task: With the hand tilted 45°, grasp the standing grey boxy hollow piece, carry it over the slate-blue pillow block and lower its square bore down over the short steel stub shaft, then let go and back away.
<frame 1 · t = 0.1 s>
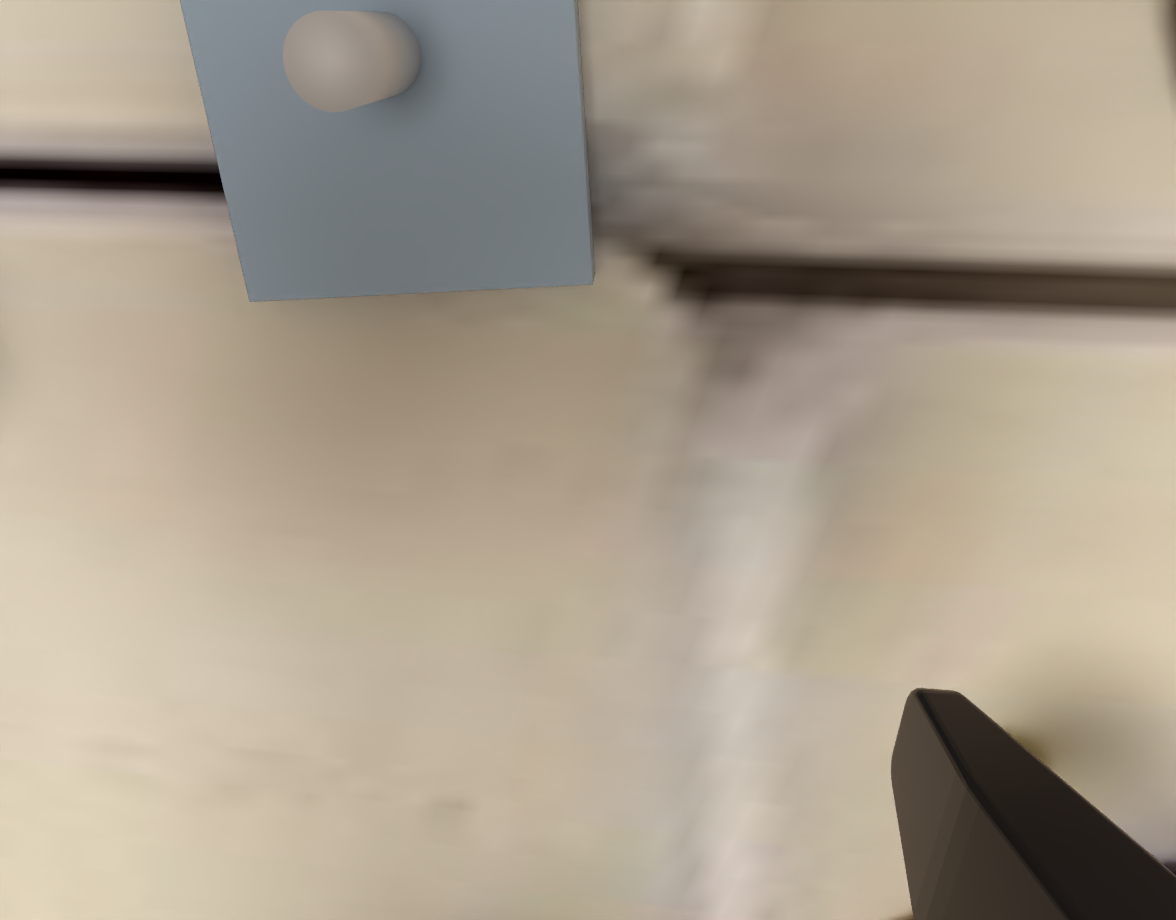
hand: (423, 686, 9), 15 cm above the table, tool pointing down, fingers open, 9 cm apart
shaft stand: (394, 53, 20), on the table
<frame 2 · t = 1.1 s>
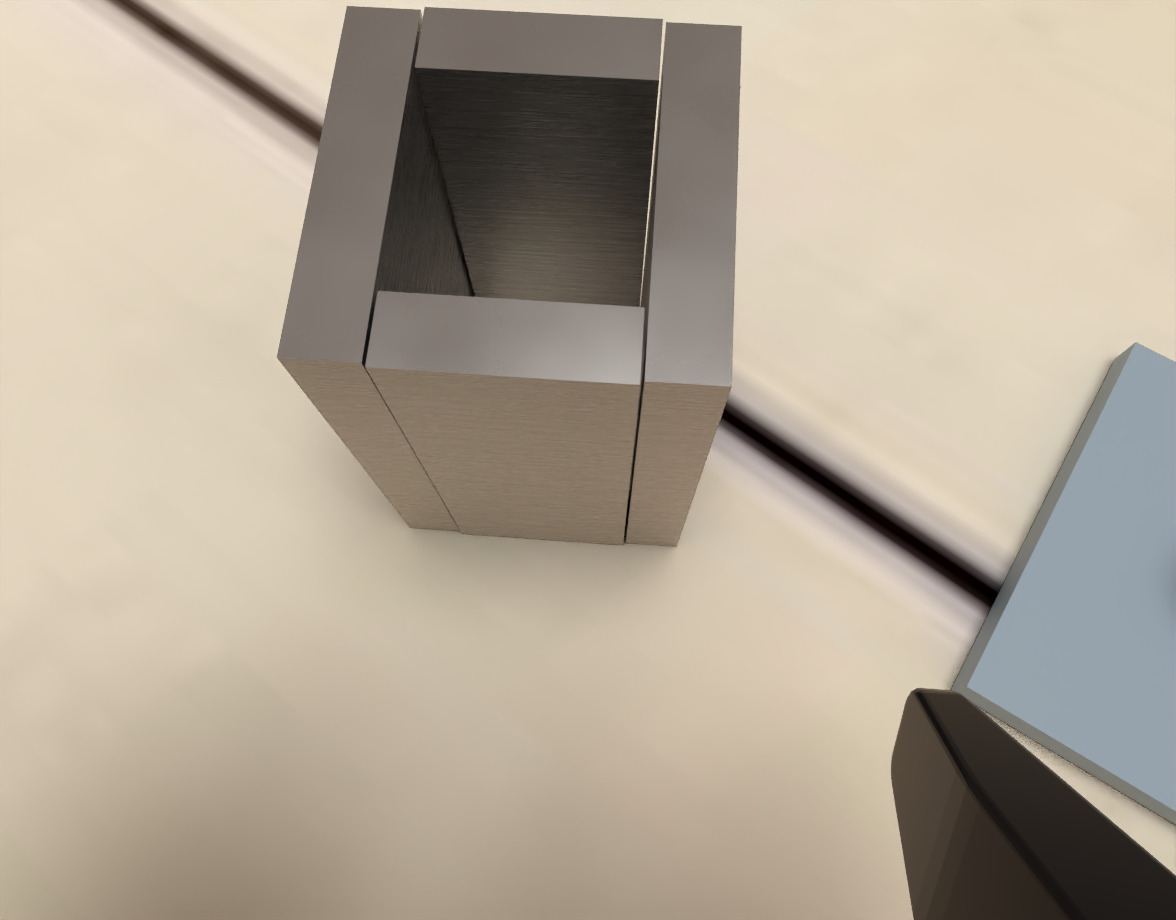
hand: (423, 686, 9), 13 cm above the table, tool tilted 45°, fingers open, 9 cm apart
grey boxy hollow piece: (554, 414, 24), on the table
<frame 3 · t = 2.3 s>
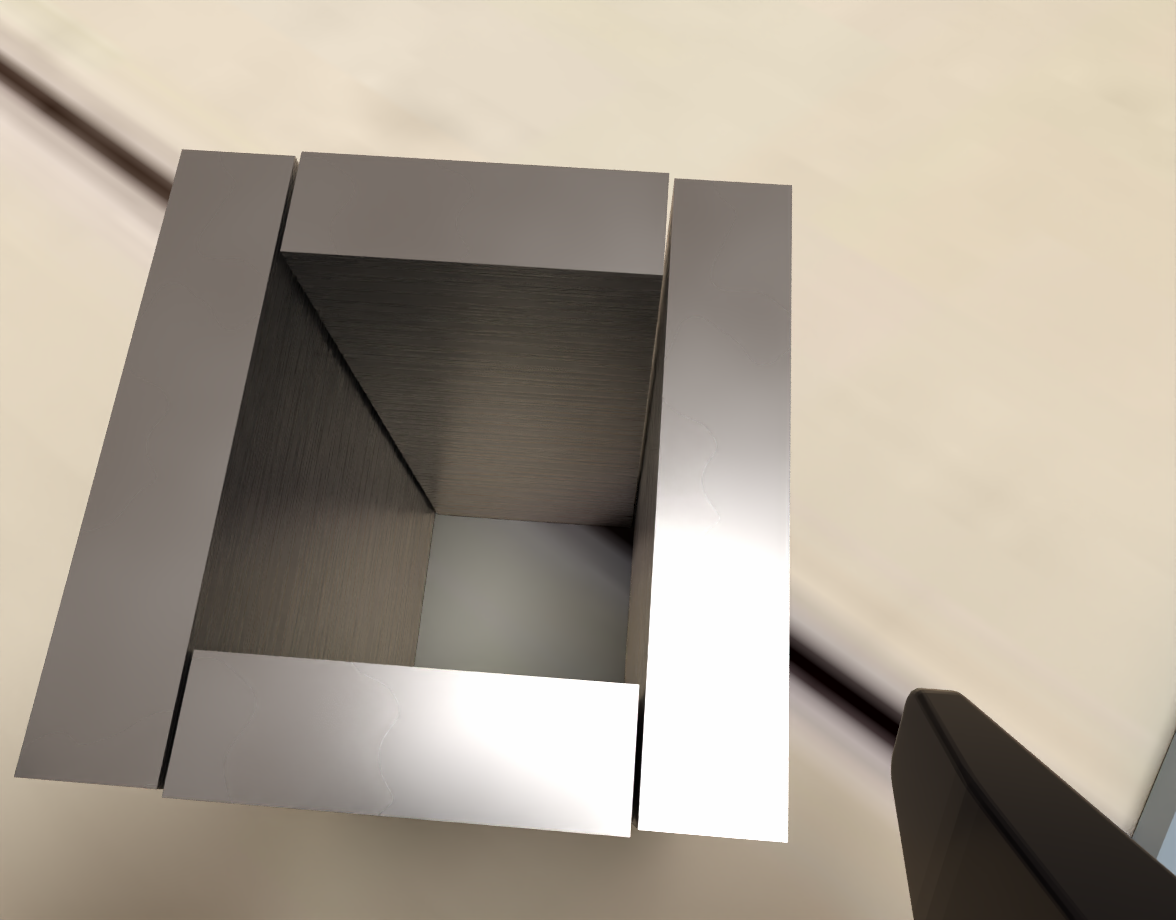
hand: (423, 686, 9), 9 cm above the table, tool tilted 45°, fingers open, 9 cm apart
grey boxy hollow piece: (523, 621, 18), on the table
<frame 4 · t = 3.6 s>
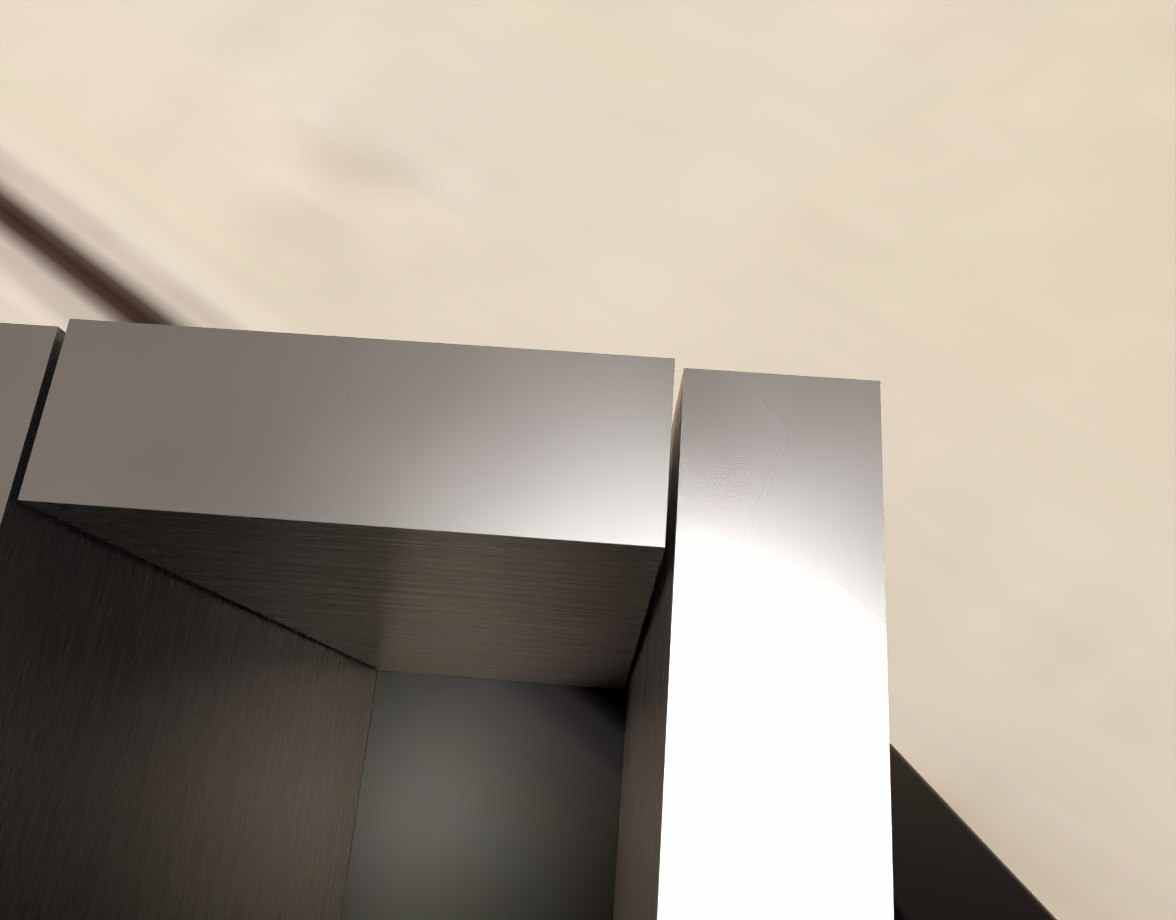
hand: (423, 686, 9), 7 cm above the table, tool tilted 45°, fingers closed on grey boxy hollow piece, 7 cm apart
grey boxy hollow piece: (487, 814, 14), on the table, touching gripper
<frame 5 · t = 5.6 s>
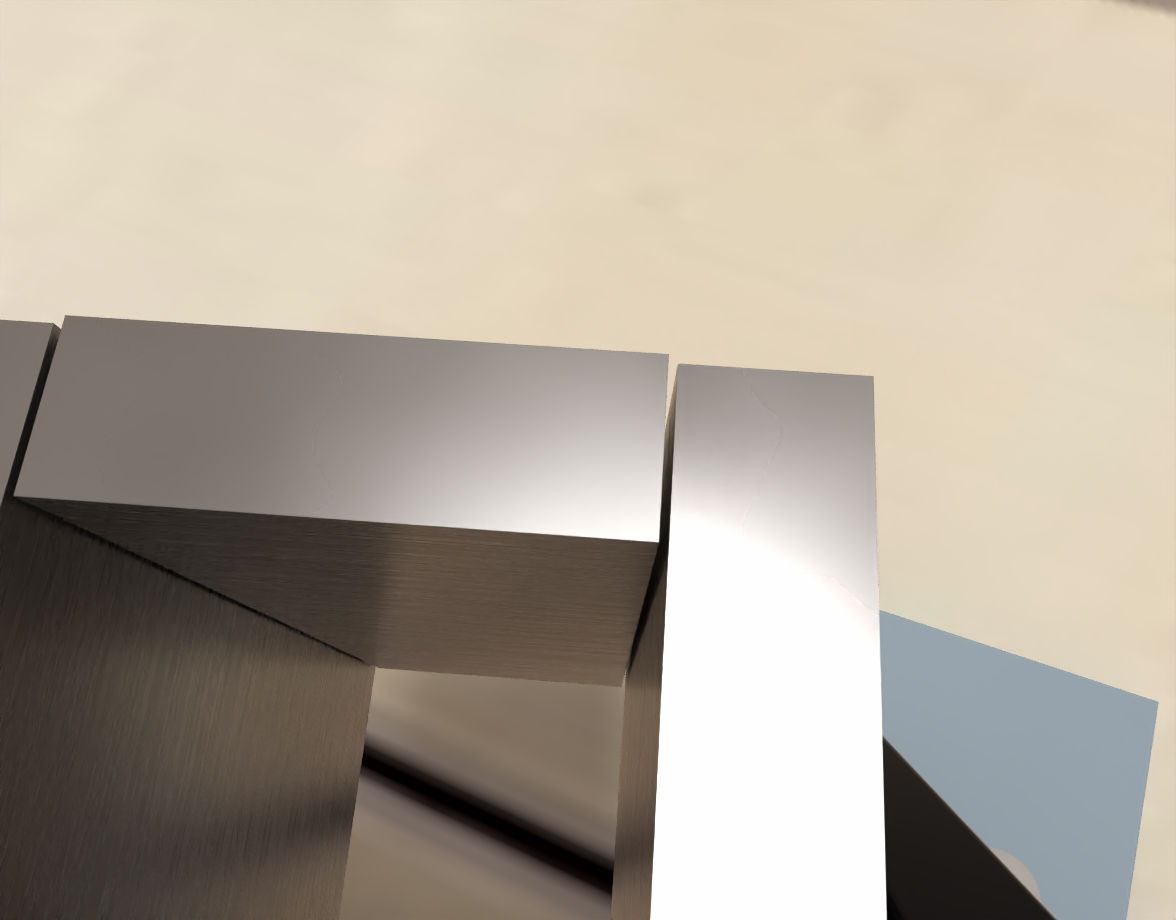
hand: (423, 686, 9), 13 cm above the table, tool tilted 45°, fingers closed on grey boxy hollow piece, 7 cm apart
shaft stand: (908, 869, 20), on the table
grey boxy hollow piece: (485, 811, 14), point 6 cm above the table, touching gripper
when the fingers open (8 cm above the table, at t = 7.8 s): grey boxy hollow piece stays where it is, resting on shaft stand.
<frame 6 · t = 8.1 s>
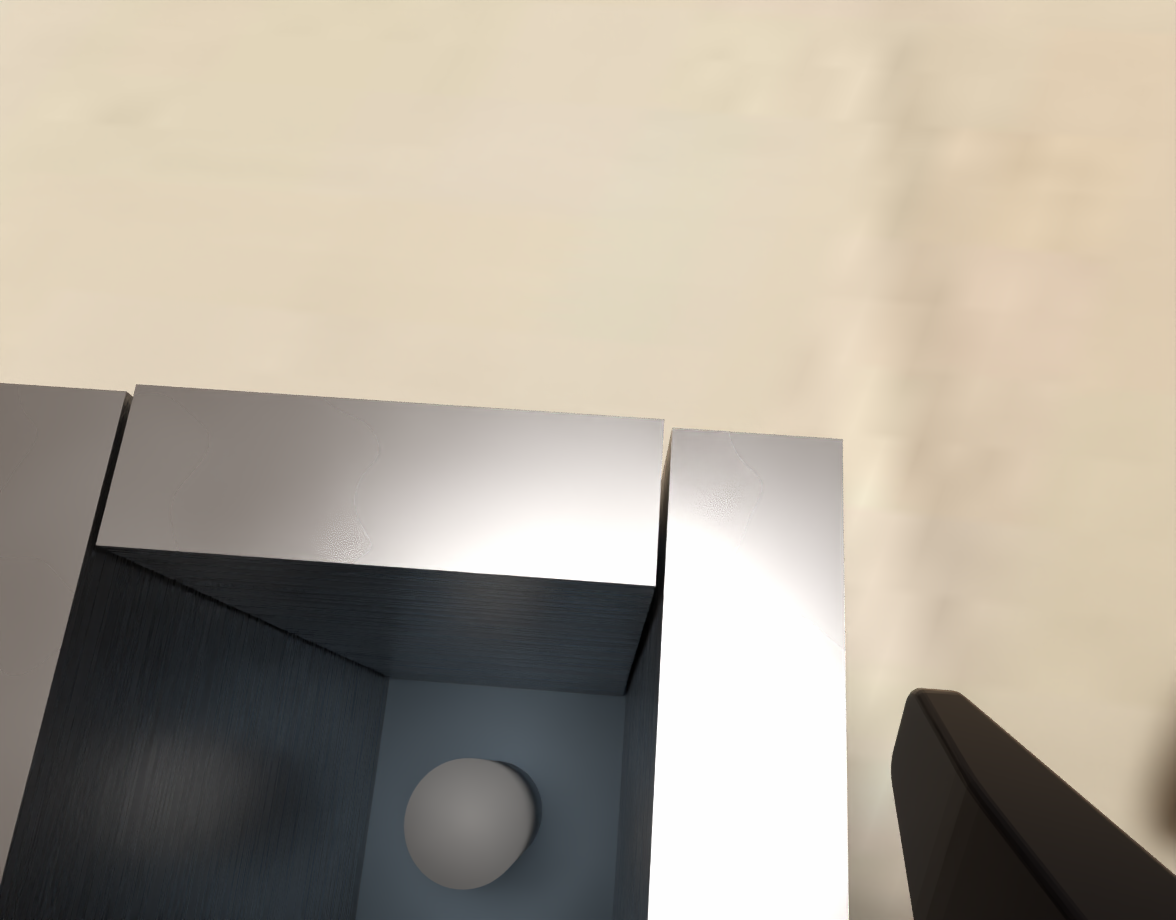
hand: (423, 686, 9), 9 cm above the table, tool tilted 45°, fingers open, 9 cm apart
shaft stand: (500, 809, 16), on the table
grey boxy hollow piece: (494, 814, 15), point 1 cm above the table, touching shaft stand
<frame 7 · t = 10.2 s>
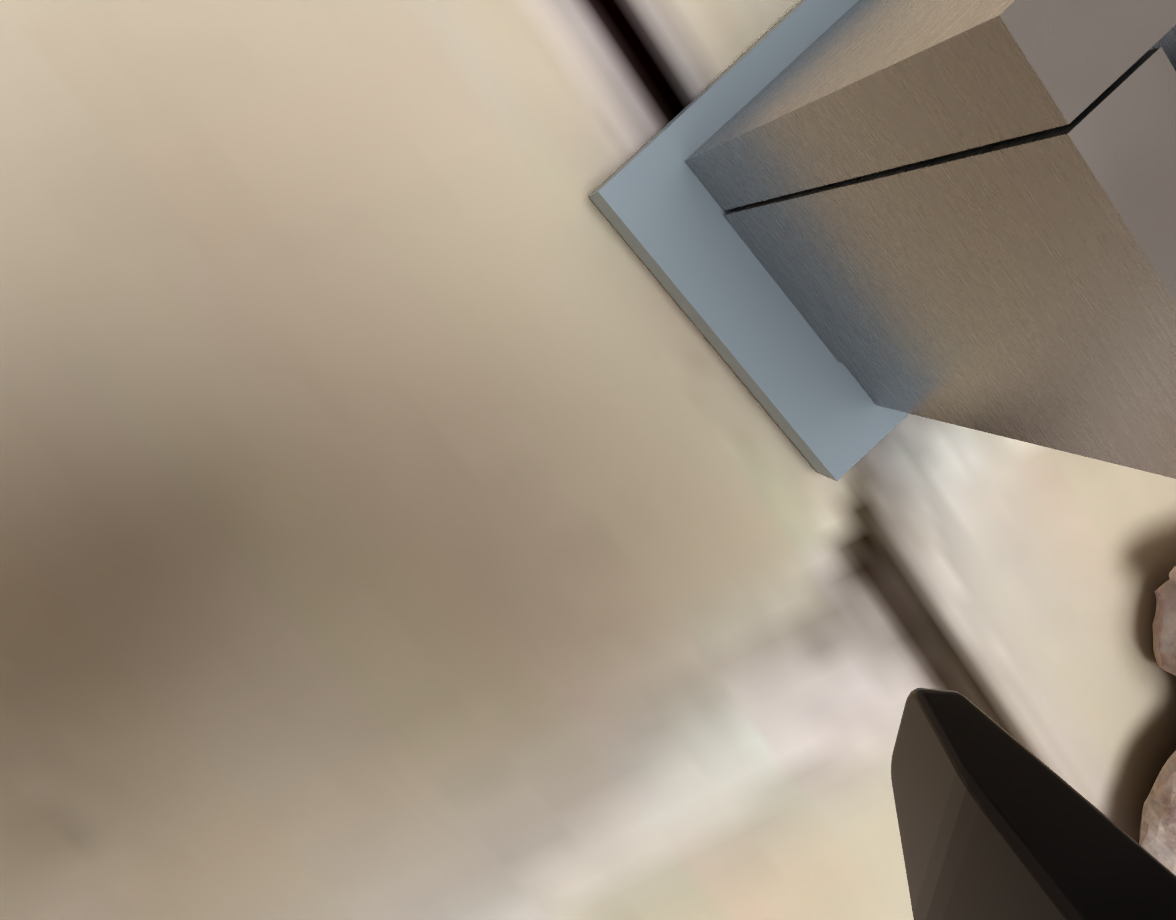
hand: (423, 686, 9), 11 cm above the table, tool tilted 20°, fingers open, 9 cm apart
shaft stand: (876, 186, 20), on the table
grey boxy hollow piece: (898, 182, 19), point 1 cm above the table, touching shaft stand
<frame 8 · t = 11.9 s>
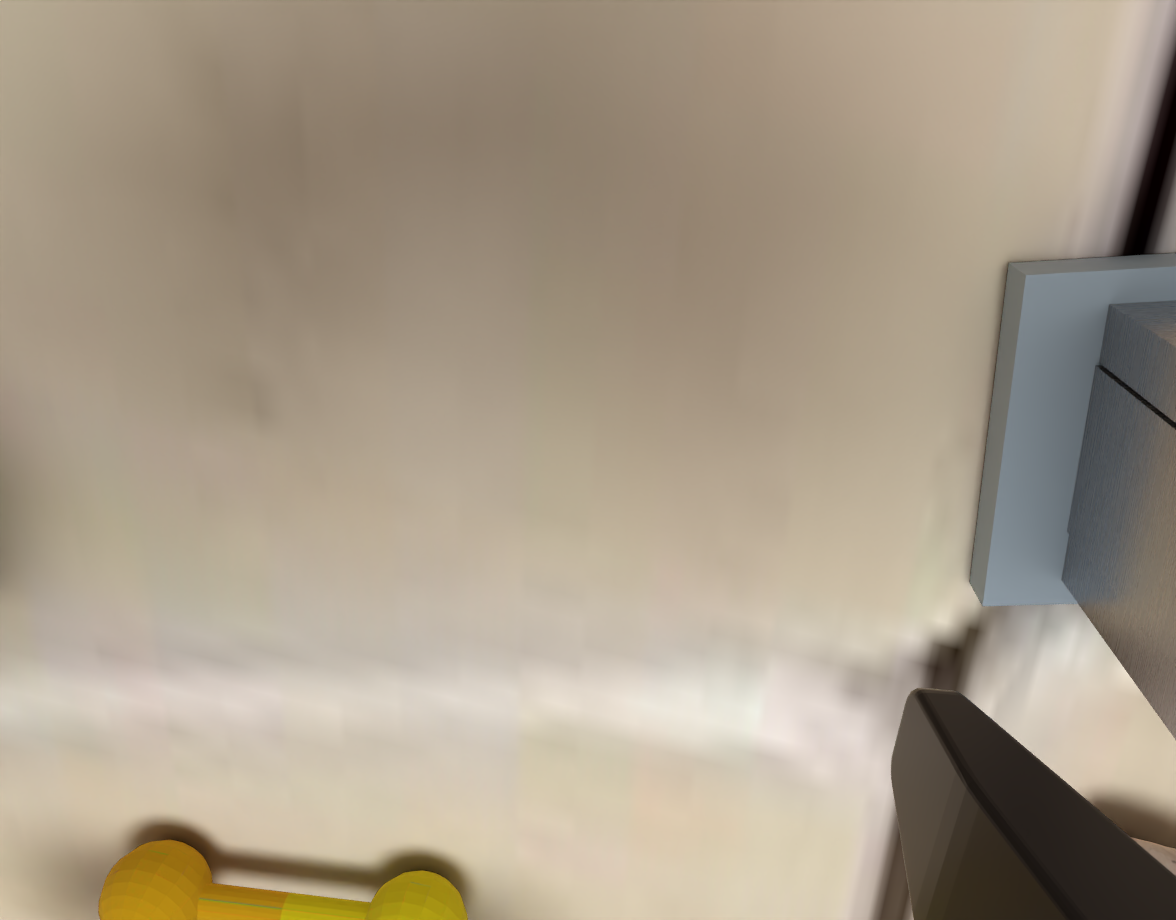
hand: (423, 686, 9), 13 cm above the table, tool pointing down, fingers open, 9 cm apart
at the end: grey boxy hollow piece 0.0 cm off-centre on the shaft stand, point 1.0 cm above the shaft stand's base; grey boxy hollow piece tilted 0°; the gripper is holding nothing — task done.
